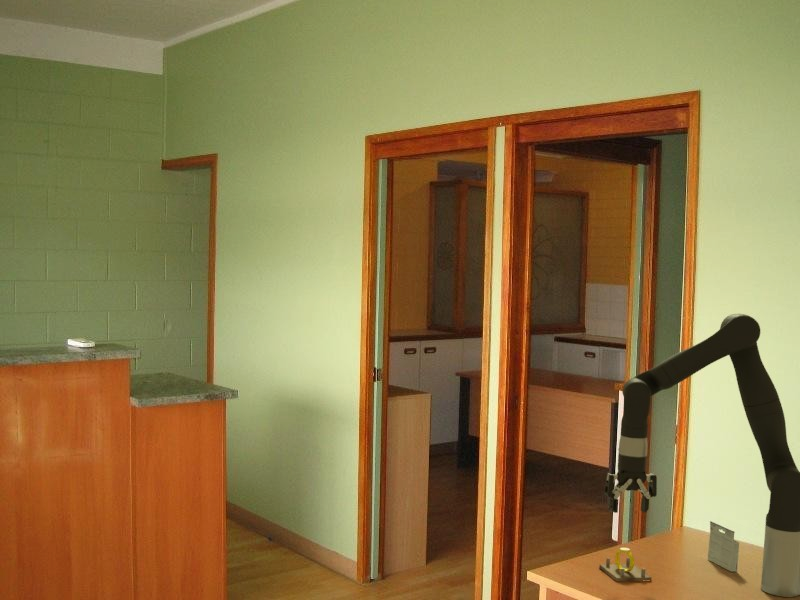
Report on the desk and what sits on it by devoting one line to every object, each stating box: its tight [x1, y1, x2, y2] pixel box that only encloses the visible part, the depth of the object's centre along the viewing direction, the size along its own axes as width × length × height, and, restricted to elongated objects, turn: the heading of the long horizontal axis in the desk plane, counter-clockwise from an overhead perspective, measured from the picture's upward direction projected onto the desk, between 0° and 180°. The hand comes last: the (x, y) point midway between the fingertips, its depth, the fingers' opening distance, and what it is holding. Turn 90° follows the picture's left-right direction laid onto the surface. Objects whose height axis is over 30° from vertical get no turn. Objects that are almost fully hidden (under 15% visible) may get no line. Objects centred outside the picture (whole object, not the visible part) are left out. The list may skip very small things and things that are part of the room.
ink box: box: [707, 520, 740, 573], centre depth 266 cm, size 12×2×12 cm, turn 16°
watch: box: [614, 547, 635, 572], centre depth 253 cm, size 6×3×6 cm, turn 31°
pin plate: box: [598, 557, 653, 583], centre depth 253 cm, size 10×11×3 cm
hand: (629, 511), depth 252 cm, fingers open, 8 cm apart
